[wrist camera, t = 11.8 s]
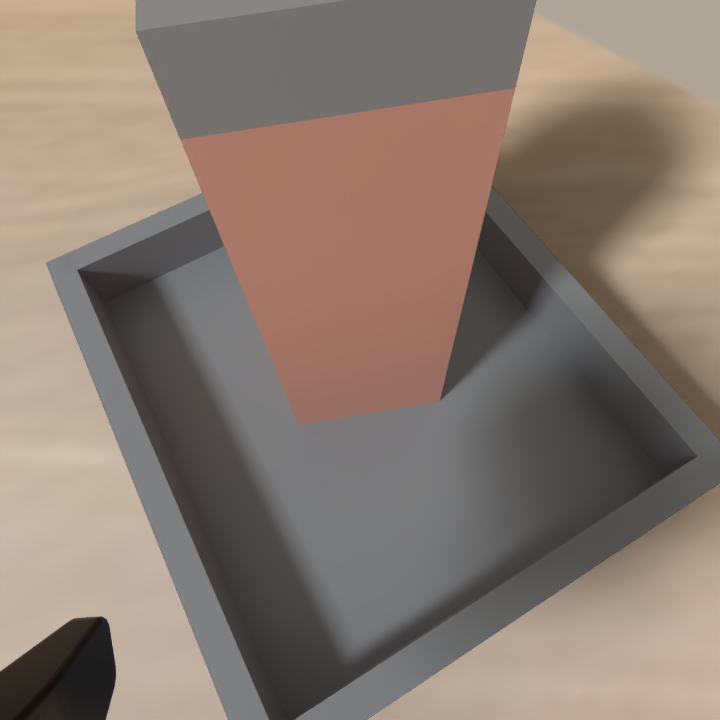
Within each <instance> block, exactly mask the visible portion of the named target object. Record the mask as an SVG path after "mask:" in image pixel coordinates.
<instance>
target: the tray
mask: <svg viewBox="0 0 720 720" xmlns="http://www.w3.org/2000/svg"><path fill="white" fill-rule="evenodd" d="M46 265H47V267H48V270H49V272H50V275H51V277H52V280H53V282H54V285H55V287H56V290H57V292H58V295H59V297H60V300H61V302H62V305H63V307H64V310H65V312H66V315H67V317H68V320H69V322H70V325H71V327H72V330H73V332H74V335H75V337H76V340H77V342H78V345H79V347H80V350H81V352H82V355H83V357H84V360H85V362H86V365H87V367H88V370H89V372H90V375H91V377H92V380H93V382H94V385H95V387H96V390H97V392H98V395H99V397H100V400H101V402H102V405H103V407H104V410H105V412H106V415H107V417H108V420H109V422H110V425H111V427H112V430H113V433H114V435H115V438H116V440H117V443H118V445H119V448H120V450H121V453H122V455H123V458H124V460H125V463H126V465H127V468H128V470H129V473H130V475H131V478H132V480H133V483H134V485H135V488H136V490H137V493H138V495H139V498H140V500H141V503H142V505H143V508H144V510H145V513H146V515H147V518H148V520H149V523H150V525H151V528H152V530H153V533H154V535H155V538H156V540H157V543H158V545H159V548H160V550H161V553H162V555H163V558H164V560H165V563H166V565H167V568H168V570H169V573H170V575H171V578H172V580H173V583H174V585H175V588H176V590H177V593H178V595H179V598H180V600H181V603H182V605H183V608H184V610H185V613H186V615H187V618H188V620H189V623H190V625H191V628H192V630H193V633H194V635H195V638H196V640H197V643H198V645H199V648H200V650H201V653H202V655H203V658H204V660H205V663H206V665H207V668H208V670H209V673H210V676H211V678H212V681H213V683H214V686H215V688H216V691H217V693H218V696H219V698H220V701H221V703H222V706H223V708H224V711H225V713H226V716H227V718H228V720H367V719H369V718H370V717H371V716H373V715H374V714H376V713H377V712H379V711H380V710H382V709H383V708H385V707H386V706H388V705H389V704H391V703H392V702H394V701H395V700H397V699H398V698H400V697H401V696H403V695H404V694H406V693H407V692H409V691H410V690H412V689H413V688H415V687H416V686H418V685H419V684H421V683H422V682H424V681H425V680H427V679H428V678H430V677H431V676H433V675H434V674H436V673H437V672H439V671H440V670H442V669H443V668H445V667H446V666H448V665H449V664H451V663H452V662H454V661H455V660H457V659H458V658H459V657H461V656H462V655H464V654H465V653H467V652H468V651H470V650H471V649H473V648H474V647H476V646H477V645H479V644H480V643H482V642H483V641H485V640H486V639H488V638H489V637H491V636H492V635H494V634H495V633H497V632H498V631H500V630H501V629H503V628H504V627H506V626H507V625H509V624H510V623H512V622H513V621H515V620H516V619H518V618H519V617H521V616H522V615H524V614H525V613H527V612H528V611H530V610H531V609H533V608H534V607H536V606H537V605H539V604H540V603H542V602H543V601H545V600H546V599H548V598H549V597H550V596H552V595H553V594H555V593H556V592H558V591H559V590H561V589H562V588H564V587H565V586H567V585H568V584H570V583H571V582H573V581H574V580H576V579H577V578H579V577H580V576H582V575H583V574H585V573H586V572H588V571H589V570H591V569H592V568H594V567H595V566H597V565H598V564H600V563H601V562H603V561H604V560H606V559H607V558H609V557H610V556H612V555H613V554H615V553H616V552H618V551H619V550H621V549H622V548H624V547H625V546H627V545H628V544H630V543H631V542H633V541H634V540H636V539H637V538H639V537H640V536H641V535H643V534H644V533H646V532H647V531H649V530H650V529H652V528H653V527H655V526H656V525H658V524H659V523H661V522H662V521H664V520H665V519H667V518H668V517H670V516H671V515H673V514H674V513H676V512H677V511H679V510H680V509H682V508H683V507H685V506H686V505H688V504H689V503H691V502H692V501H694V500H695V499H697V498H698V497H700V496H701V495H703V494H704V493H706V492H707V491H709V490H710V489H712V488H713V487H715V486H716V485H718V484H719V483H720V440H719V439H718V438H717V437H716V436H715V435H714V433H713V432H712V431H711V430H710V429H709V428H708V427H707V426H706V425H705V423H704V422H703V421H702V420H701V419H700V418H699V417H698V416H697V415H696V413H695V412H694V411H693V410H692V409H691V408H690V407H689V406H688V404H687V403H686V402H685V401H684V400H683V399H682V398H681V397H680V396H679V394H678V393H677V392H676V391H675V390H674V389H673V388H672V387H671V385H670V384H669V383H668V382H667V381H666V380H665V379H664V378H663V377H662V375H661V374H660V373H659V372H658V371H657V370H656V369H655V368H654V366H653V365H652V364H651V363H650V362H649V361H648V360H647V359H646V358H645V356H644V355H643V354H642V353H641V352H640V351H639V350H638V349H637V347H636V346H635V345H634V344H633V343H632V342H631V341H630V340H629V339H628V337H627V336H626V335H625V334H624V333H623V332H622V331H621V330H620V328H619V327H618V326H617V325H616V324H615V323H614V322H613V321H612V320H611V318H610V317H609V316H608V315H607V314H606V313H605V312H604V311H603V310H602V308H601V307H600V306H599V305H598V304H597V303H596V302H595V301H594V299H593V298H592V297H591V296H590V295H589V294H588V293H587V292H586V291H585V289H584V288H583V287H582V286H581V285H580V284H579V283H578V282H577V280H576V279H575V278H574V277H573V276H572V275H571V274H570V273H569V272H568V270H567V269H566V268H565V267H564V266H563V265H562V264H561V263H560V261H559V260H558V259H557V258H556V257H555V256H554V255H553V254H552V253H551V251H550V250H549V249H548V248H547V247H546V246H545V245H544V244H543V242H542V241H541V240H540V239H539V238H538V237H537V236H536V235H535V234H534V232H533V231H532V230H531V229H530V228H529V227H528V226H527V225H526V223H525V222H524V221H523V220H522V219H521V218H520V217H519V216H518V215H517V213H516V212H515V211H514V210H513V209H512V208H511V207H510V206H509V204H508V203H507V202H506V201H505V200H504V199H503V198H502V197H501V196H500V194H499V193H498V192H497V191H496V190H495V189H494V188H493V187H492V186H491V191H490V195H489V199H488V203H487V207H486V211H485V215H484V220H483V224H482V228H481V232H480V236H479V240H478V244H477V249H476V253H475V257H474V261H473V265H472V269H471V273H470V277H469V282H468V286H467V290H466V294H465V298H464V302H463V306H462V311H461V315H460V319H459V323H458V327H457V331H456V335H455V340H454V344H453V348H452V352H451V356H450V360H449V364H448V369H447V373H446V377H445V381H444V385H443V389H442V393H441V398H440V401H437V402H432V403H426V404H420V405H415V406H409V407H403V408H398V409H392V410H386V411H380V412H375V413H369V414H363V415H358V416H352V417H346V418H340V419H335V420H329V421H323V422H318V423H312V424H306V425H301V426H299V425H298V423H297V421H296V418H295V416H294V413H293V411H292V409H291V406H290V404H289V401H288V399H287V396H286V394H285V392H284V389H283V387H282V384H281V382H280V379H279V377H278V375H277V372H276V370H275V367H274V365H273V362H272V360H271V358H270V355H269V353H268V350H267V348H266V346H265V343H264V341H263V338H262V336H261V333H260V331H259V329H258V326H257V324H256V321H255V319H254V316H253V314H252V312H251V309H250V307H249V304H248V302H247V299H246V297H245V295H244V292H243V290H242V287H241V285H240V283H239V280H238V278H237V275H236V273H235V270H234V268H233V266H232V263H231V261H230V258H229V256H228V253H227V251H226V249H225V246H224V244H223V241H222V239H221V236H220V234H219V232H218V229H217V227H216V224H215V222H214V220H213V217H212V215H211V212H210V210H209V207H208V205H207V203H206V200H205V198H204V195H203V193H201V194H199V195H197V196H195V197H192V198H190V199H188V200H186V201H183V202H181V203H179V204H177V205H174V206H172V207H170V208H168V209H165V210H163V211H161V212H159V213H157V214H154V215H152V216H150V217H148V218H145V219H143V220H141V221H139V222H136V223H134V224H132V225H130V226H127V227H125V228H123V229H121V230H118V231H116V232H114V233H112V234H109V235H107V236H105V237H103V238H100V239H98V240H96V241H94V242H91V243H89V244H87V245H85V246H83V247H80V248H78V249H76V250H74V251H71V252H69V253H67V254H65V255H62V256H60V257H58V258H56V259H53V260H51V261H49V262H47V263H46Z"/></svg>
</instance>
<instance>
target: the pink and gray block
mask: <svg viewBox="0 0 720 720" xmlns="http://www.w3.org/2000/svg"><path fill="white" fill-rule="evenodd" d="M535 4H536V0H136V33H137V35H138V38H139V40H140V43H141V45H142V47H143V50H144V52H145V55H146V57H147V60H148V62H149V64H150V67H151V69H152V72H153V74H154V77H155V79H156V81H157V84H158V86H159V89H160V91H161V94H162V96H163V98H164V101H165V103H166V106H167V108H168V110H169V113H170V115H171V118H172V120H173V123H174V125H175V127H176V130H177V132H178V135H179V137H180V140H181V142H182V144H183V147H184V149H185V152H186V154H187V157H188V159H189V161H190V164H191V166H192V169H193V171H194V173H195V176H196V178H197V181H198V183H199V186H200V188H201V190H202V193H203V195H204V198H205V200H206V203H207V205H208V207H209V210H210V212H211V215H212V217H213V220H214V222H215V224H216V227H217V229H218V232H219V234H220V236H221V239H222V241H223V244H224V246H225V249H226V251H227V253H228V256H229V258H230V261H231V263H232V266H233V268H234V270H235V273H236V275H237V278H238V280H239V283H240V285H241V287H242V290H243V292H244V295H245V297H246V299H247V302H248V304H249V307H250V309H251V312H252V314H253V316H254V319H255V321H256V324H257V326H258V329H259V331H260V333H261V336H262V338H263V341H264V343H265V346H266V348H267V350H268V353H269V355H270V358H271V360H272V362H273V365H274V367H275V370H276V372H277V375H278V377H279V379H280V382H281V384H282V387H283V389H284V392H285V394H286V396H287V399H288V401H289V404H290V406H291V409H292V411H293V413H294V416H295V418H296V421H297V423H298V425H299V426H301V425H306V424H312V423H318V422H323V421H329V420H335V419H340V418H346V417H352V416H358V415H363V414H369V413H375V412H380V411H386V410H392V409H398V408H403V407H409V406H415V405H420V404H426V403H432V402H437V401H440V398H441V393H442V389H443V385H444V381H445V377H446V373H447V369H448V364H449V360H450V356H451V352H452V348H453V344H454V340H455V335H456V331H457V327H458V323H459V319H460V315H461V311H462V306H463V302H464V298H465V294H466V290H467V286H468V282H469V277H470V273H471V269H472V265H473V261H474V257H475V253H476V249H477V244H478V240H479V236H480V232H481V228H482V224H483V220H484V215H485V211H486V207H487V203H488V199H489V195H490V191H491V186H492V182H493V178H494V174H495V170H496V166H497V162H498V157H499V153H500V149H501V145H502V141H503V137H504V133H505V128H506V124H507V120H508V116H509V112H510V108H511V104H512V99H513V95H514V91H515V87H516V83H517V79H518V75H519V70H520V66H521V62H522V58H523V54H524V50H525V46H526V41H527V37H528V33H529V29H530V25H531V21H532V17H533V13H534V8H535Z"/></svg>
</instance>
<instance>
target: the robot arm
mask: <svg viewBox="0 0 720 720" xmlns="http://www.w3.org/2000/svg"><path fill="white" fill-rule="evenodd" d="M115 680H116V666H115V659H114V653H113V646H112V640H111V633H110V627H109V624H108V622H107V619H105V618H104V617H101V616H100V617H85V618H75V619H72V620H70V621H69V622H67V623H66V624H65V625H63V626H62V627H60V628H59V629H58V630H56V631H55V632H54V633H52V634H51V635H49V636H48V637H47V638H45V639H44V640H43V641H41V642H40V643H39V644H37V645H36V646H34V647H33V648H32V649H30V650H29V651H28V652H26V653H25V654H23V655H22V656H21V657H19V658H18V659H17V660H15V661H14V662H13V663H11V664H10V665H8V666H7V667H6V668H4V669H3V670H2V671H0V720H106V717H107V713H108V709H109V706H110V702H111V698H112V695H113V691H114V687H115Z"/></svg>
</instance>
